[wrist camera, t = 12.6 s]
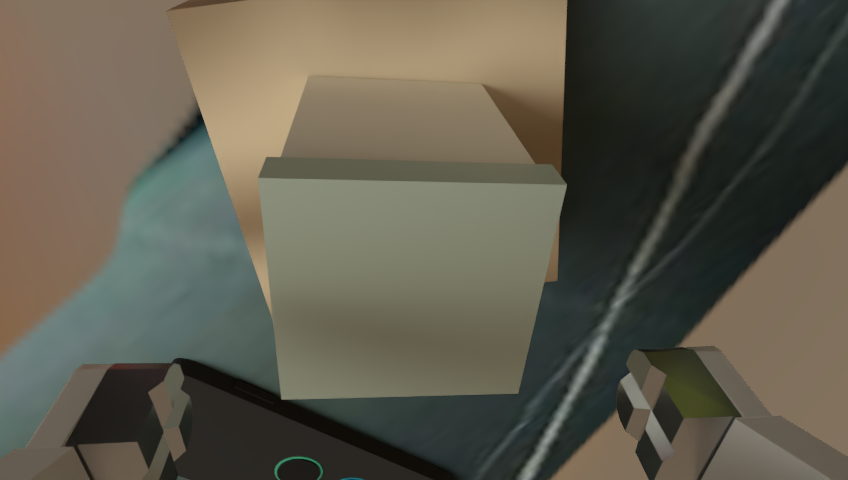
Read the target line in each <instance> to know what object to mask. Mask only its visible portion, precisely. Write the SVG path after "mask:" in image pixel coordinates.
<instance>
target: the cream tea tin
mask: <svg viewBox="0 0 848 480" xmlns="http://www.w3.org/2000/svg"><path fill="white" fill-rule="evenodd" d="M258 184H259V193H260V203H261V212H262V222H263V231H264V240H265V250H266V259H267V269H268V278H269V287H270V297H271V306H272V316H273V325H274V334H275V344H276V353H277V363H278V372H279V382H280V391H281V400H286V399H325V398H363V397H402V396H440V395H479V394H517V393H518V391H519V387H520V383H521V379H522V374H523V370H524V366H525V362H526V357H527V353H528V349H529V345H530V340H531V336H532V332H533V328H534V323H535V319H536V315H537V311H538V306H539V302H540V298H541V294H542V289H543V285H544V281H545V277H546V272H547V268H548V264H549V260H550V255H551V251H552V247H553V243H554V238H555V234H556V230H557V226H558V221H559V217H560V213H561V209H562V204H563V200H564V196H565V192H566V187H567V184H566V183H565V181H564V180H563V179H562V177H561V176H560V175H559V173H558V172H557V171H556V169H555V168H554V166H553V165H552V164H535V163H534V161H533V160H532V158H531V157H530V155H529V154H528V152H527V151H526V149H525V148H524V146H523V145H522V143H521V142H520V140H519V139H518V137H517V136H516V134H515V133H514V131H513V130H512V128H511V127H510V126H509V124H508V123H507V121H506V120H505V118H504V117H503V115H502V114H501V112H500V111H499V109H498V108H497V106H496V105H495V103H494V102H493V100H492V99H491V97H490V96H489V94H488V93H487V91H486V90H485V88H484V87H483V85H482V84H478V83H456V82H434V81H411V80H389V79H367V78H344V77H322V76H308V79H307V82H306V85H305V87H304V90H303V93H302V96H301V99H300V102H299V105H298V108H297V111H296V114H295V116H294V119H293V122H292V125H291V128H290V131H289V134H288V137H287V140H286V142H285V145H284V148H283V151H282V154H281V157H266V159H265V162H264V164H263V167H262V169H261V171H260V174H259V176H258Z"/></svg>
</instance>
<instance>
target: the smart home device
mask: <svg viewBox="0 0 848 480" xmlns="http://www.w3.org/2000/svg"><path fill="white" fill-rule="evenodd" d="M172 363H175V364H179V365H180V367H181V370H182V373H183V376H184V381H183V383H182V386H181V390H182V391H183V392H185V393H186V394H188V395H189V396H190V400H191V403H192V410H193V423H192V430H191V437H190V440H189V443H188V446H187V449H186V451H185V452H184V453H183V454H182V455H181V456H180V457H179V458H177V459H176V460H175V461H174V464H175V467H176V470H177V473H178V476H181V477H184V478H187V479H190V480H451V477H450V475H449V474H448V473H447V472H446V471H444V470H442V469H440V468H438V467H435V466H433V465H431V464H428V463H426V462H424V461H421V460H419V459H417V458H415V457H412V456H410V455H408V454H405V453H403V452H401V451H399V450H396V449H394V448H392V447H389V446H387V445H385V444H383V443H380V442H378V441H376V440H373V439H371V438H369V437H367V436H364V435H362V434H360V433H357V432H355V431H353V430H351V429H348V428H346V427H344V426H341V425H339V424H337V423H335V422H332V421H330V420H328V419H325V418H323V417H321V416H319V415H316V414H314V413H312V412H309V411H307V410H305V409H303V408H300V407H298V406H296V405H293V404H291V403H289V402H287V401H284V400H281V399H280V398H277V397H275V396H274V395H271V394H269V393H267V392H265V391H262V390H260V389H258V388H255V387H253V386H251V385H249V384H246V383H244V382H242V381H239V380H236V379H234V378H232V377H229V376H227V375H225V374H223V373H220V372H218V371H216V370H213V369H211V368H209V367H207V366H204V365H202V364H200V363H197V362H194V361H191V360H188V359H182V358H177V359H174V360H173V362H172Z"/></svg>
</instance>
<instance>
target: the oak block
mask: <svg viewBox="0 0 848 480" xmlns="http://www.w3.org/2000/svg"><path fill="white" fill-rule="evenodd" d="M167 14H168V17H169V20H170V23H171V26H172V29H173V32H174V35H175V38H176V40H177V43H178V46H179V49H180V52H181V55H182V57H183V61H184V63H185V67H186V69H187V72H188V75H189V78H190V81H191V84H192V87H193V90H194V93H195V96H196V98H197V101H198V104H199V107H200V110H201V113H202V116H203V119H204V122H205V125H206V128H207V130H208V133H209V136H210V139H211V142H212V145H213V148H214V151H215V154H216V157H217V159H218V162H219V165H220V168H221V171H222V174H223V177H224V180H225V183H226V186H227V188H228V191H229V194H230V197H231V200H232V203H233V206H234V209H235V212H236V215H237V218H238V220H239V223H240V226H241V229H242V232H243V235H244V238H245V241H246V244H247V247H248V249H249V252H250V255H251V258H252V261H253V264H254V267H255V270H256V273H257V276H258V278H259V281H260V284H261V287H262V290H263V293H264V296H265V299H266V302H267V305H268V308H269V310H270V313H271V316H272V306H271V297H270V287H269V278H268V269H267V259H266V250H265V240H264V231H263V222H262V212H261V203H260V193H259V184H258V176H259V174H260V171H261V169H262V167H263V164H264V162H265V159H266V157H281V154H282V151H283V148H284V145H285V142H286V140H287V137H288V134H289V131H290V128H291V125H292V122H293V119H294V116H295V114H296V111H297V108H298V105H299V102H300V99H301V96H302V93H303V90H304V87H305V85H306V82H307V79H308V76H322V77H344V78H367V79H389V80H411V81H434V82H456V83H478V84H482V85H483V87H484V88H485V90H486V91H487V93H488V94H489V96H490V97H491V99H492V100H493V102H494V103H495V105H496V106H497V108H498V109H499V111H500V112H501V114H502V115H503V117H504V118H505V120H506V121H507V123H508V124H509V126H510V127H511V128H512V130H513V131H514V133H515V134H516V136H517V137H518V139H519V140H520V142H521V143H522V145H523V146H524V148H525V149H526V151H527V152H528V154H529V155H530V157H531V158H532V160H533V161H534V163H535V164H552V165H553V166H554V168H555V169H556V171H557V172H558V173H559V175H560V176H561V162H562V133H563V105H564V76H565V48H566V19H567V0H188V1H186V2H184V3H182V4H180V5H178V6H176V7H173V8H171V9H169V10H167ZM559 219H560V217H559ZM558 247H559V221H558V226H557V230H556V234H555V238H554V243H553V247H552V251H551V255H550V260H549V264H548V268H547V272H546V277H545V281H544V282H550V281H557V276H558ZM272 319H273V316H272Z"/></svg>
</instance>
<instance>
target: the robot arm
mask: <svg viewBox="0 0 848 480" xmlns="http://www.w3.org/2000/svg"><path fill="white" fill-rule="evenodd" d="M626 365H627V366H628V368H629V370H630V373H629V374H628V375H627V376H626V377H624V378H623V379H622V380H621V381H620V383H619V386H618V390H617V393H616V398H617V410H618V414H619V418H620V420H621V422H622V425H623V427H624V429H625V431H626V432H627V433H629V434H630V435H631V436H633V437H634V438H635V439H636V440H638V445H637V449H636V454H637V456H638V458H639V460H640V462H641V464H642V466H643V468H644V471H645V472H646V474H647V477H648V479H649V480H848V457H847V456H846V455H844V454H842V453H840V452H839V451H837V450H836V449H834V448H832V447H831V446H829V445H828V444H826V443H824V442H822V441H821V440H819V439H818V438H816V437H814V436H812V435H811V434H809V433H808V432H806V431H804V430H803V429H801V428H799V427H798V426H796V425H794V424H793V423H791V422H790V421H788V420H786V419H785V418H783V417H781V416H772V415H771V414H770V413H769V411H768V410H767V409H766V408H765V406H764V405H763V404H762V402H761V401H760V400H759V399H758V397H757V396H756V395H755V394H754V392H753V391H752V390H751V389H750V387H749V386H748V385H747V383H746V382H745V381H744V380H743V378H742V377H741V376H740V374H739V373H738V372H737V371H736V370H735V368H734V367H733V366H732V364H731V363H730V362H729V361H728V359H727V358H726V357H725V355H724V354H723V353H722V352H721V351H720V350H719V349H717V348H715V347H714V346H705V347H687V348H684V347H678V348H653V349H635V350H634V351H633V352H632V353H631V354H630V355H629V358H628V361H627V363H626ZM183 381H184V376H183V373H182V370H181V367H180V365H179V364H175V363H117V364H83V365H82V366H80V367H79V368H78V369H76V370H75V371H74V372H73V374H72V375H71V377H70V379H69V380H68V382H67V383H66V385H65V386H64V388H63V390H62V391H61V393H60V394H59V396H58V397H57V399H56V401H55V402H54V404H53V405H52V407H51V408H50V410H49V412H48V413H47V415H46V416H45V418H44V420H43V421H42V423H41V424H40V426H39V427H38V429H37V431H36V432H35V434H34V435H33V437H32V438H31V440H30V442H29V443H28V445H27V446H26V448H23V449H14V450H13V451H11V452H10V453H9V454H7V455H6V456H4V457H3V458H1V459H0V480H176V479H177V476H178V473H177V470H176V467H175V464H174V461H175V460H176V459H177V458H179V457H180V456H181V455H182V454H183V453H184V452H185V451H186V449H187V446H188V443H189V440H190V437H191V430H192V423H193V410H192V403H191V400H190V396H189V395H188V394H186V393H185V392H183V391H182V390H181V386H182V383H183Z"/></svg>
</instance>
